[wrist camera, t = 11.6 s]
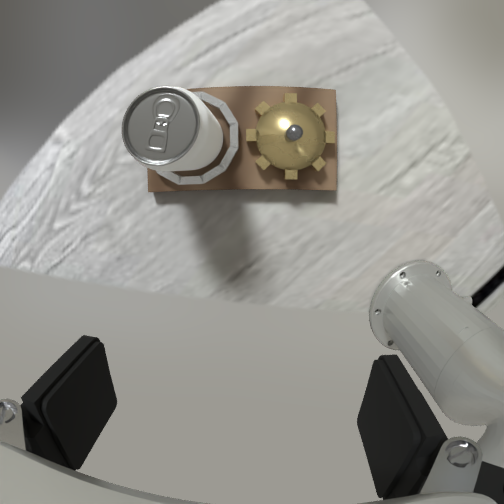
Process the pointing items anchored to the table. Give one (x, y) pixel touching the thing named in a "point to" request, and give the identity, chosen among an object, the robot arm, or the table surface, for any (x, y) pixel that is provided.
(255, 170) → the gear board
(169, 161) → the can
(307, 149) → the gear
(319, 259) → the table surface
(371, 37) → the table surface
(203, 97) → the ring
